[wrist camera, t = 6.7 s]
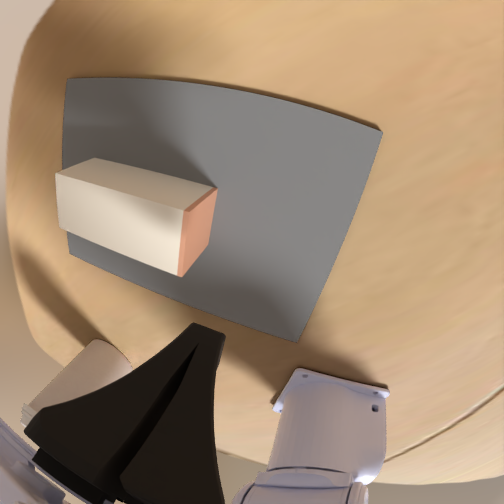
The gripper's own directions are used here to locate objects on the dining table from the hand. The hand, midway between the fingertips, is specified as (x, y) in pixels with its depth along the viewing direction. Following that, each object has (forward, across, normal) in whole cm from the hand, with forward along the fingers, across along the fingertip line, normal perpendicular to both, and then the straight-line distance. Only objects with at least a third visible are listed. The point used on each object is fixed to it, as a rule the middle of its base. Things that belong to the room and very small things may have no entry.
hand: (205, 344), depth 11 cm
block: (+6, +3, -1) cm, 7 cm away
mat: (+9, +6, -1) cm, 11 cm away
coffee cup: (+9, +14, +22) cm, 28 cm away
